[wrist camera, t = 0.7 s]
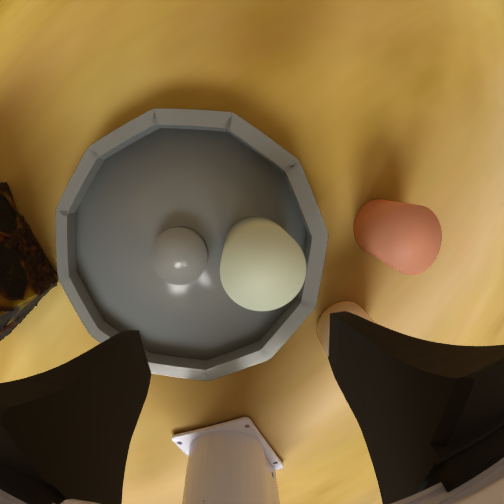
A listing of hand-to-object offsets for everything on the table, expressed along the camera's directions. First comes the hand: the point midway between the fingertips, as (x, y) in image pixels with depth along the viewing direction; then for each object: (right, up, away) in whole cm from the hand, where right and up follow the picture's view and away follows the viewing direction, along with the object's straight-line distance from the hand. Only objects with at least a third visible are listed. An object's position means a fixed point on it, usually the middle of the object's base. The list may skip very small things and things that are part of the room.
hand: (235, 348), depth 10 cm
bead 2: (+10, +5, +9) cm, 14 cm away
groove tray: (-4, +4, +9) cm, 10 cm away
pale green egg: (+1, +4, +8) cm, 9 cm away
